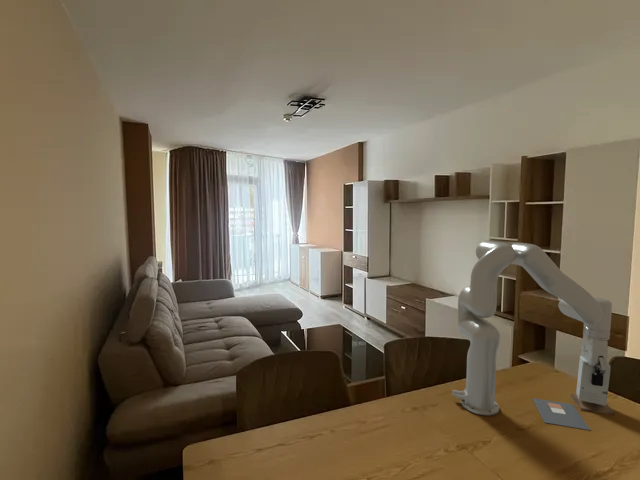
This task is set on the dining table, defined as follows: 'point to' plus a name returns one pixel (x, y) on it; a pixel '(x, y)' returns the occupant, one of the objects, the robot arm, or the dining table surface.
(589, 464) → the dining table surface
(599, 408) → the coaster
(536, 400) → the gray tile
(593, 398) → the skincare box
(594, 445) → the dining table surface
